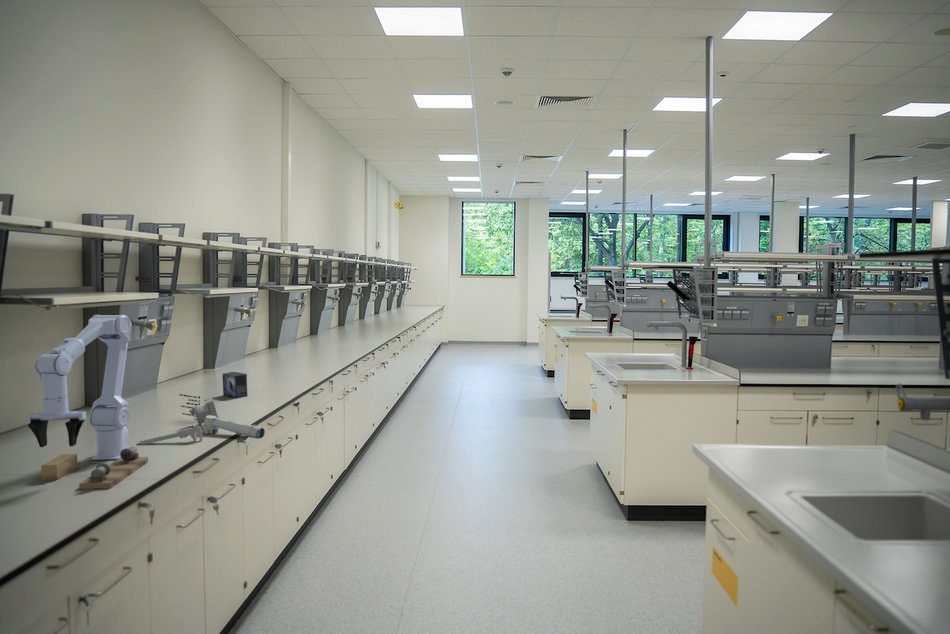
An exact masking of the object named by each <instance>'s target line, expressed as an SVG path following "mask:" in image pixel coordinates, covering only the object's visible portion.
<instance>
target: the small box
mask: <svg viewBox="0 0 950 634" xmlns="http://www.w3.org/2000/svg"><path fill="white" fill-rule="evenodd" d="M247 376H248V374H247V373H244V372H237V371H231V372H224V373H222V395H223V396H224V397H230V398H233V399H240V398H245V397H248V379H247V378H248V377H247Z"/></svg>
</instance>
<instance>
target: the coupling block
mask: <svg viewBox="0 0 950 634" xmlns="http://www.w3.org/2000/svg"><path fill="white" fill-rule="evenodd" d="M78 466H79V465H78V453H62V454H60V455H58V456H56V457H55V458H53V459H50V460H49V461H47V462H44V463H43V464H41V466H40V467H41V481H44V482H45V481H58V480H59V481H60V479H62V478H64V477H65V476H67V475H68V474H71V473H72V472H74V471H76V470H77V469H78V468H79V467H78Z"/></svg>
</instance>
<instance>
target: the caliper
mask: <svg viewBox="0 0 950 634" xmlns="http://www.w3.org/2000/svg"><path fill="white" fill-rule="evenodd" d="M196 433H197V435H198V438H199V441H200V442H202V441H203V432H202V427H200V426H199V424H198V422H197V423H196V424H192V427H189V428H185V429H181V430H178V431H177V432H173V433H169V434H164V435H159V436H154V437H150V438H145V439H142V440H139V442H137V443H136V444H138V445H141V444H142V445H149V444H153V443H157V442H162V441H166V440H170V439H171V440H172V439H176V438H179V439H184V438H185V439H186V438H187V437H189V436H190V437H191V438H192V440H193V441H194V442H197V441H198V440H197V436H196ZM196 440H197V441H196Z"/></svg>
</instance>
